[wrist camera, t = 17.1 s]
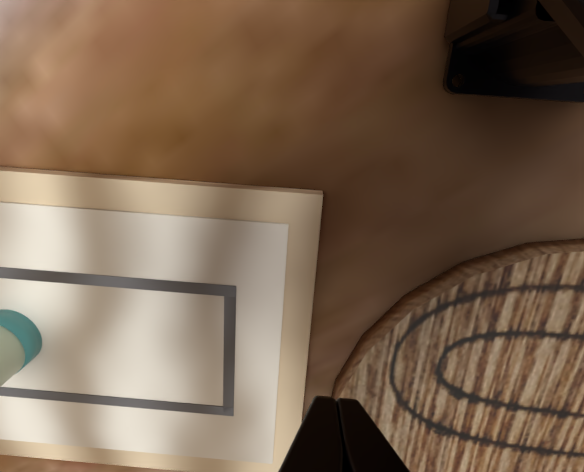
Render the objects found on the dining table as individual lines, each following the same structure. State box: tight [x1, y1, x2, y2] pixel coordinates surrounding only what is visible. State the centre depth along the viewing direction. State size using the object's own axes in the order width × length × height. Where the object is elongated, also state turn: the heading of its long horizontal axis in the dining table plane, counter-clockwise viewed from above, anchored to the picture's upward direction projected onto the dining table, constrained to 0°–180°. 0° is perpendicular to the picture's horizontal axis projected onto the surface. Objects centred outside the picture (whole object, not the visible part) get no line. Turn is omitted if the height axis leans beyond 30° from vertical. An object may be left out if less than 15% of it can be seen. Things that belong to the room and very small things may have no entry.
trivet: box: [332, 239, 584, 472], centre depth 22 cm, size 25×25×2 cm
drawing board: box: [0, 166, 323, 472], centre depth 20 cm, size 24×18×1 cm
